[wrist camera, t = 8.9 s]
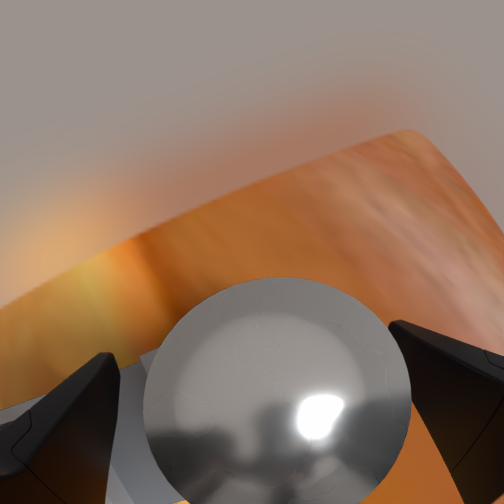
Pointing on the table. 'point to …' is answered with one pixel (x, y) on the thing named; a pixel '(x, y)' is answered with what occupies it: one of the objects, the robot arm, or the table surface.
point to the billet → (277, 397)
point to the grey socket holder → (126, 443)
